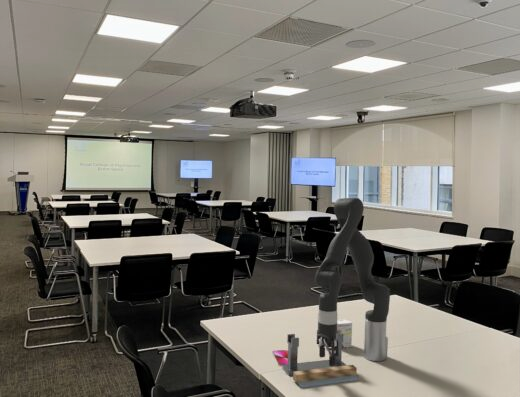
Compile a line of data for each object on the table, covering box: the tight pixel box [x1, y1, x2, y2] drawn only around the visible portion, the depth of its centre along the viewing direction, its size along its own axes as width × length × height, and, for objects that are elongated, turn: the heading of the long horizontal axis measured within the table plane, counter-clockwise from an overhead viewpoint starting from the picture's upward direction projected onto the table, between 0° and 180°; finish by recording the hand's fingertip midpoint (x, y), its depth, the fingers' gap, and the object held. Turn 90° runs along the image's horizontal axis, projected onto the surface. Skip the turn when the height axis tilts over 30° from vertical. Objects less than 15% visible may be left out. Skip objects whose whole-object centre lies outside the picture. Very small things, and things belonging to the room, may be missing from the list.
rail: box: [292, 364, 357, 384], centre depth 173 cm, size 26×3×3 cm, turn 107°
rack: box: [281, 330, 347, 377], centre depth 183 cm, size 26×7×14 cm, turn 108°
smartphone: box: [272, 349, 288, 367], centre depth 192 cm, size 7×1×15 cm
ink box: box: [337, 319, 353, 349], centre depth 209 cm, size 9×5×12 cm, turn 107°
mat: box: [297, 375, 359, 388], centre depth 173 cm, size 24×8×1 cm, turn 108°
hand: (326, 361), depth 173 cm, fingers open, 8 cm apart
